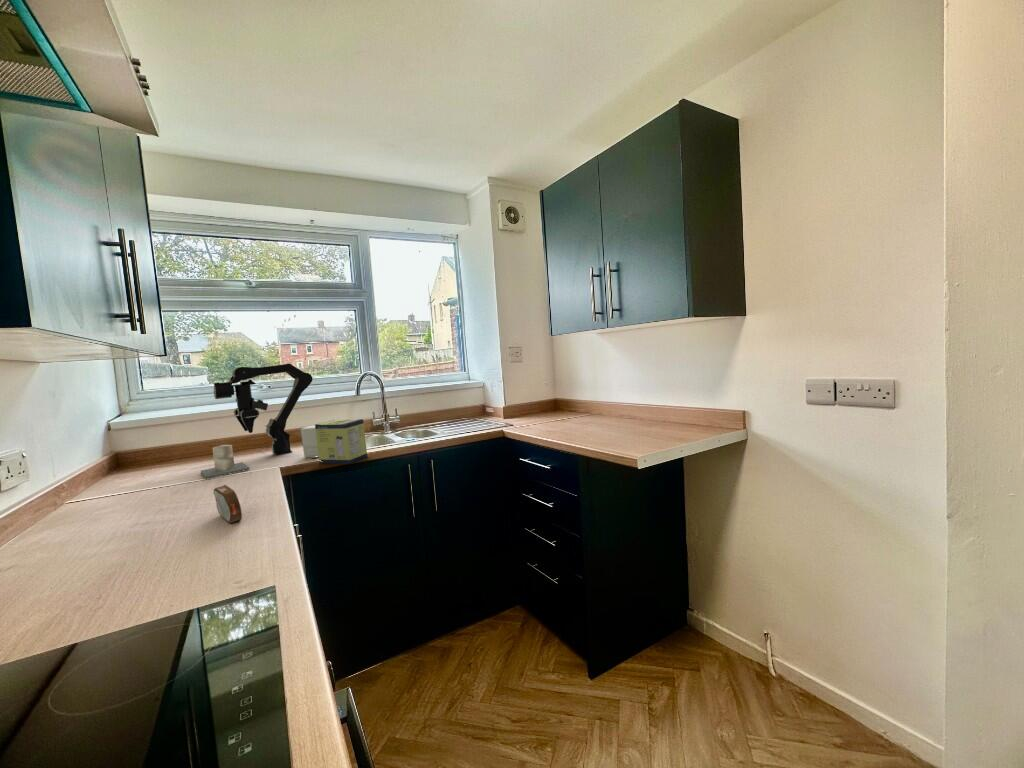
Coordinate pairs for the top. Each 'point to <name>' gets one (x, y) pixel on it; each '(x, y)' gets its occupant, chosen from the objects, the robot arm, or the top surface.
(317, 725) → the top surface
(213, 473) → the rubber mat
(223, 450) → the cream rectangular block
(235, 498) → the tin
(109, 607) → the top surface
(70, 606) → the top surface
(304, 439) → the supplement box
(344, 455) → the protein box
